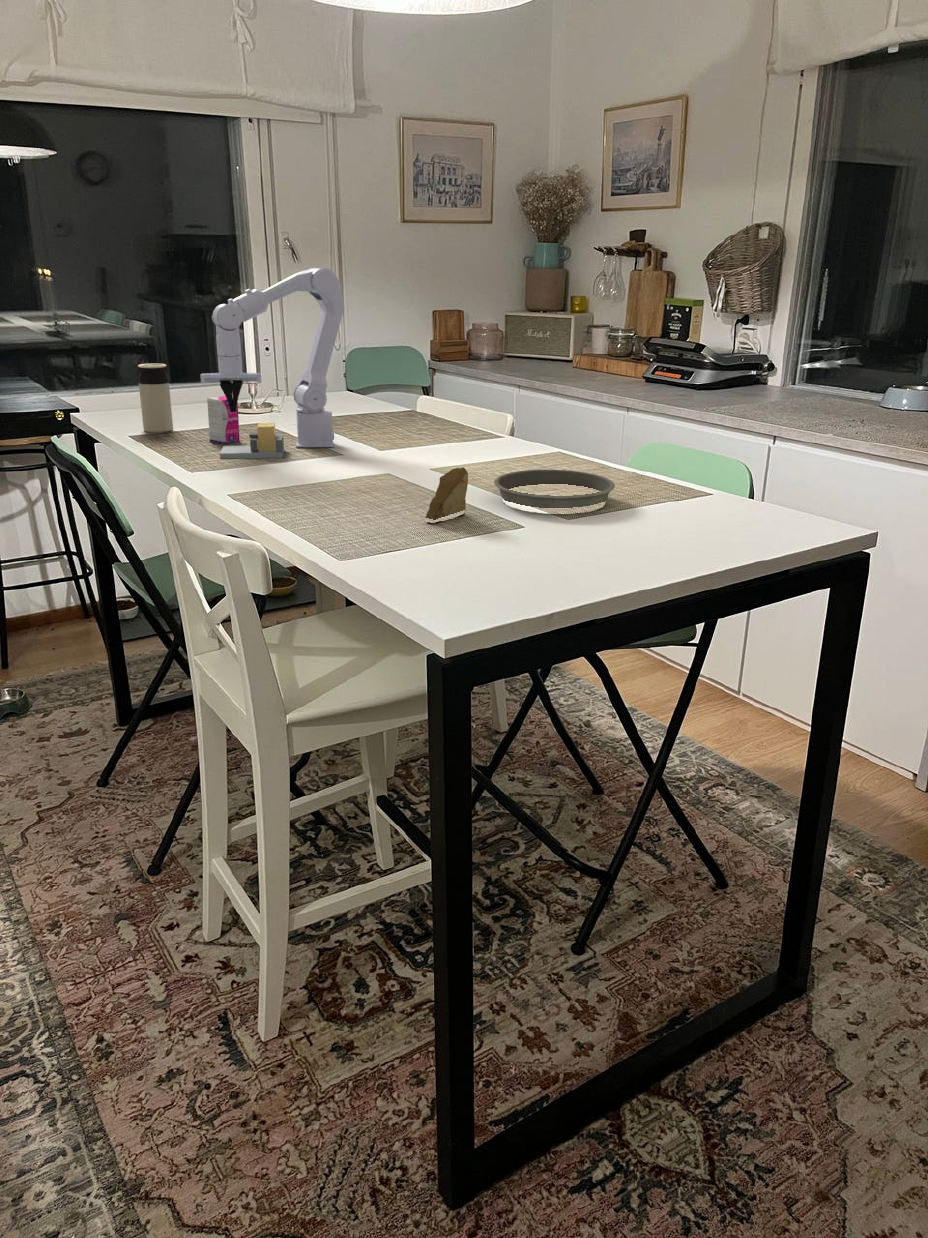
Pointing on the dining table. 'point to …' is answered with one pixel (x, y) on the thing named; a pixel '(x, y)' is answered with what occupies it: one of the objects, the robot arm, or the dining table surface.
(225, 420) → the supplement box
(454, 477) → the rock
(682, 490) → the dining table surface
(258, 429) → the brass block
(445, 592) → the dining table surface
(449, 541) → the dining table surface
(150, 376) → the travel mug
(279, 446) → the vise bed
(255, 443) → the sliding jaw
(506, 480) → the cake pan
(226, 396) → the robot arm
